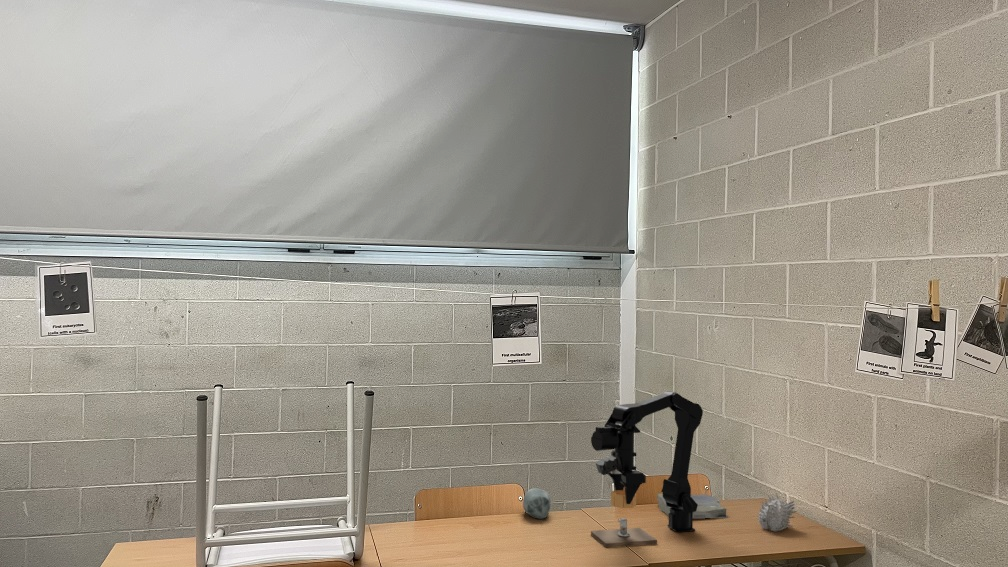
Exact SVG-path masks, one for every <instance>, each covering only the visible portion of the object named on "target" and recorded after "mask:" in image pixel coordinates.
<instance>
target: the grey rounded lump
mask: <svg viewBox="0 0 1008 567" xmlns="http://www.w3.org/2000/svg"><path fill="white" fill-rule="evenodd" d="M522 500H523V501H522V507H523V510H524V511H525V513H527V515H529V516H531V517H532V518H534V519H538V520H542V519H546V517H547V516H548V515H549V512H550V511H551V496H550V494H549V493H548V492H547V491H545V490H543V489H541V488H538V487H533V488H531V489H529V490H527V491H526V492H525V494H524V496H523V499H522Z"/></svg>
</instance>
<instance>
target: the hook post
mask: <svg viewBox="0 0 1008 567" xmlns="http://www.w3.org/2000/svg"><path fill="white" fill-rule="evenodd" d="M617 521H618V523H619V529H620V532H618V533H617V535H618V536H619V537H629V536H630V533H628V532H627V529H628V518H625V517H622V518H619V519H618V520H617Z"/></svg>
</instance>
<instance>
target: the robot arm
mask: <svg viewBox="0 0 1008 567" xmlns="http://www.w3.org/2000/svg"><path fill="white" fill-rule="evenodd" d="M668 408H669V410H671V411H672V412H673V413H674V420H675V421H674V422H675V424H676V427H677V435H676V441H675V448H674V453H673V454H674V455H673V461H672V466H671V467H672V468H671V474H670V476H669V477H668V478H664V479H663V482H662V488H661V492H662V493H663V498H664V499H665V502H666V505H667V507H671V508H670V513H669V516H668V524H667V527H668V528H669V529H671V530H672V531H674V532H675V533H676V532H677V533H682V532H685V533H686V532H696V529H695V528H694V527H693V526H694V525H693V522H694V520H693V512H695V511H696V510H697V506H698V504H697V503H696V502H695V501H694V500H693V499H692V497H691V495H692V488H691V485H690V481H689V479H688V476H689V471H690V470H689V469H690V463H691V456H692V449H693V442H694V441H693V440H694V434H695V431H696V430H697V429H698V427H699V426H700V425H701V421H702V418H703V414H704V412H703V408H702V407H701V405H700V403H697V402H693V401H691V400H689V399H687V398H685V397H684V396H682V395H681V394H680V393H678V392H675V391H669V390H667V391H664V392H663V393H661V394H659V395H656V396H653V397H650V398H647V399H645V400H643V401H639V402H636V403H624V404H618V405H615V406H614V407H613V410H612V413H611V414H610V416H609V417H608V419H607V421H606V422H605V424H604V426H596V427H595V431H593V433H592V434H591V437H590V444H591V446H592V448H593V449H594V450H595V451H598V452H601V451H609V450H610V451H611V450H612V451H611V454H610V455H609V456H608V457H604V458H602V459H599V460H597V461H595V466H596V468H597V472H598V473H599V474H601V475H602V476H605V475H606V476H607V475H608V476H609V477H610V478H611V479H612V483H613V487H614V490H625V496H626V503H627V504H631V502H632V500H633V498H634V496H635V494H636V495H637V492H638V490H639V489H640V486H641V485H643V484H646V482H647V475H646V474H644V472H642V471H640V470H637V466H635V465H634V463H635V462H634V461H635V457H637V452H635V434H640V433H641V430H640V429H639V428H638V427H637V425H638V424H639V423H640V422H642V420H643V418H645V417H647V416H649V415H651V414H655V413H657V412H660V411H662V410H665V409H668ZM661 492H660V493H661Z"/></svg>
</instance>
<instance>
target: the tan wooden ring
mask: <svg viewBox="0 0 1008 567" xmlns="http://www.w3.org/2000/svg"><path fill="white" fill-rule="evenodd" d="M610 505H611V506H613V507H615V508H620V509H633V508H635V507H636V506H637V493H636V494H635V496H634V498H633V500H632V502H631V504H627V503H626V496H625V489H623V490H615V489H614V490H613V491H611V492H610Z"/></svg>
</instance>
